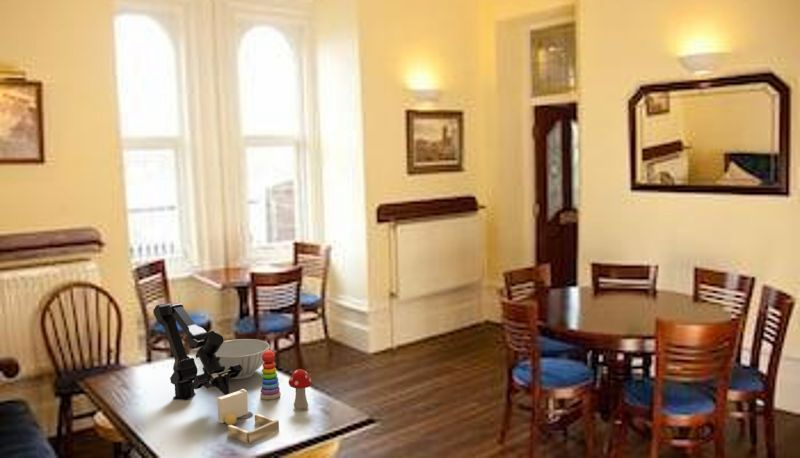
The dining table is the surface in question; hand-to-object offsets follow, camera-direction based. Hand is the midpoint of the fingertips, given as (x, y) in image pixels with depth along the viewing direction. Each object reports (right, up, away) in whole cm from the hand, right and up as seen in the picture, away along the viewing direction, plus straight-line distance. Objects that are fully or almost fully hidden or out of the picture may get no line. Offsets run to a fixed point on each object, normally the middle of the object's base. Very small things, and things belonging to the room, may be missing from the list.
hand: (228, 395), depth 249 cm
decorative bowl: (-7, -3, +47) cm, 48 cm away
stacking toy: (+12, -6, +20) cm, 24 cm away
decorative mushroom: (+26, -7, +8) cm, 28 cm away
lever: (+2, -8, -2) cm, 8 cm away
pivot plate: (+5, -8, +2) cm, 10 cm away
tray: (+12, -10, -14) cm, 21 cm away
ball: (+3, -7, -7) cm, 10 cm away
